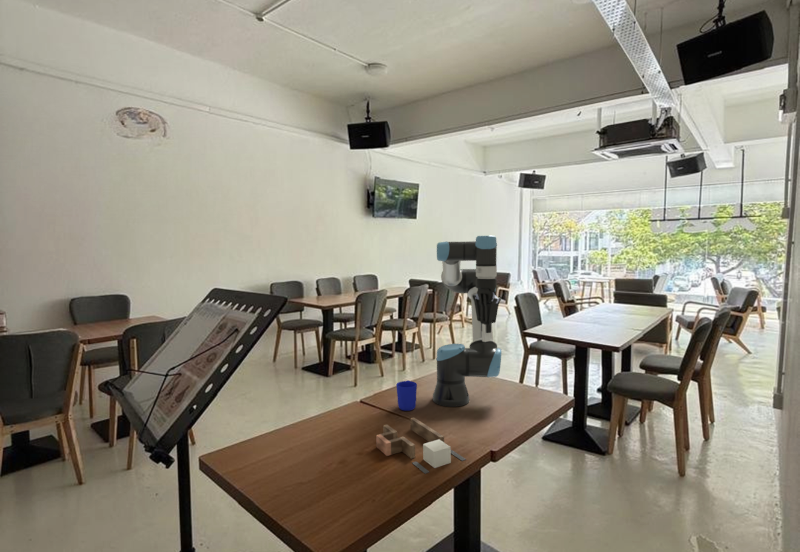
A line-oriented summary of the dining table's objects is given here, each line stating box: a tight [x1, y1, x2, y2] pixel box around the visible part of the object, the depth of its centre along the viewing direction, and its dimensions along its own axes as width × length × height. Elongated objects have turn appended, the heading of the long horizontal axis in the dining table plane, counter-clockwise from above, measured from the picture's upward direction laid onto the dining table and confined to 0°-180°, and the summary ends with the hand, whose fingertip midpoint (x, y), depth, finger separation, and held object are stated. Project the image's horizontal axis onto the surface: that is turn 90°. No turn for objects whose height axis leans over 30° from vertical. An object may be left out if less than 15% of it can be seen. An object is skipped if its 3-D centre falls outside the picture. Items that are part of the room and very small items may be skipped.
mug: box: [395, 379, 418, 412], centre depth 174 cm, size 8×12×10 cm
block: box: [422, 439, 452, 469], centre depth 130 cm, size 6×6×5 cm
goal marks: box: [411, 449, 467, 474], centre depth 130 cm, size 7×15×1 cm, turn 120°
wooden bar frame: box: [375, 417, 445, 459], centre depth 142 cm, size 18×18×4 cm
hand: (486, 340), depth 160 cm, fingers closed
